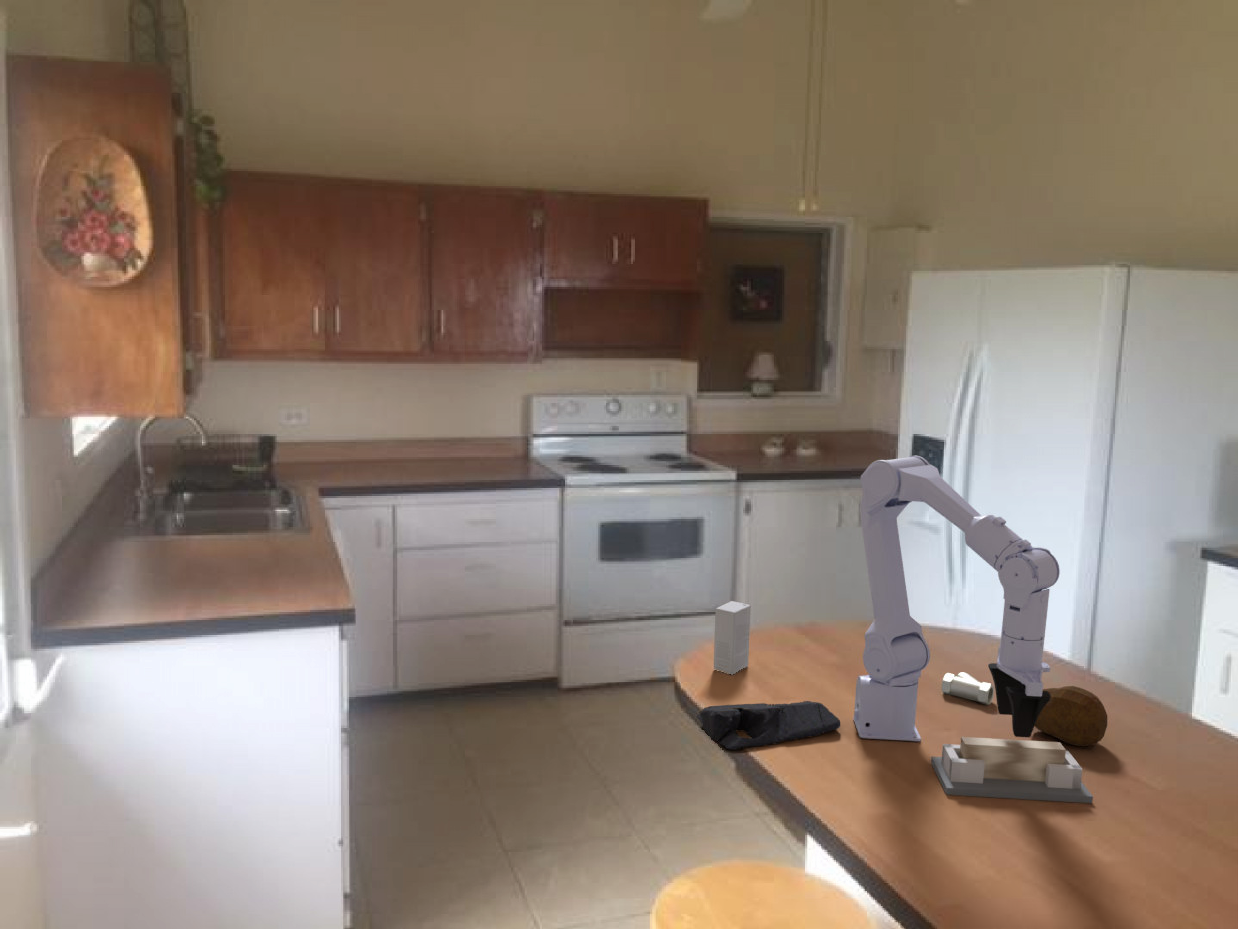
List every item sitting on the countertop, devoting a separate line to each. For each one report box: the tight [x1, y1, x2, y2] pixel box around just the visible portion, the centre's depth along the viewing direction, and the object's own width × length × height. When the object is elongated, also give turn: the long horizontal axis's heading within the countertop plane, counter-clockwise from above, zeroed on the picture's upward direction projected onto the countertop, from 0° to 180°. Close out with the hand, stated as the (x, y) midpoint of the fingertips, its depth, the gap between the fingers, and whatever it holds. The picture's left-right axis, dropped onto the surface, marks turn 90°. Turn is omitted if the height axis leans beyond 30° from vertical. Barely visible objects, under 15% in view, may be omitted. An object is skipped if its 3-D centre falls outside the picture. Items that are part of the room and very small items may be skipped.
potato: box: [1034, 685, 1108, 747], centre depth 168 cm, size 8×12×9 cm
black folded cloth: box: [695, 700, 841, 751], centre depth 170 cm, size 15×22×5 cm
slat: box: [959, 736, 1067, 782], centre depth 152 cm, size 14×2×5 cm, turn 86°
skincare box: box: [713, 600, 751, 676], centre depth 194 cm, size 6×4×12 cm
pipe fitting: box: [941, 672, 995, 706], centre depth 185 cm, size 8×4×7 cm
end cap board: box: [930, 743, 1094, 804], centre depth 153 cm, size 20×10×4 cm, turn 86°
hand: (1013, 724), depth 151 cm, fingers open, 7 cm apart
